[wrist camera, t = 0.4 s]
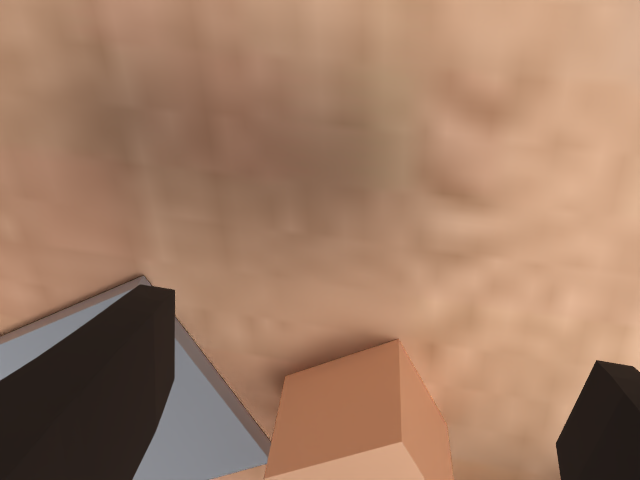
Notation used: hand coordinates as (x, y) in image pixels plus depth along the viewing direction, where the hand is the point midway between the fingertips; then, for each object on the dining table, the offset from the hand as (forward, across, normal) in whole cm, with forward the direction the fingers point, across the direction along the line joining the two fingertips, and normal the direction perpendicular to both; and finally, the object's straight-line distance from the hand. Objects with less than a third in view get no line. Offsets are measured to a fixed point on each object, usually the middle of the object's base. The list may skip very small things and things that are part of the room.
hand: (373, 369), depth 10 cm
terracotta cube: (+10, -1, +11) cm, 15 cm away
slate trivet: (+10, +9, +13) cm, 19 cm away
